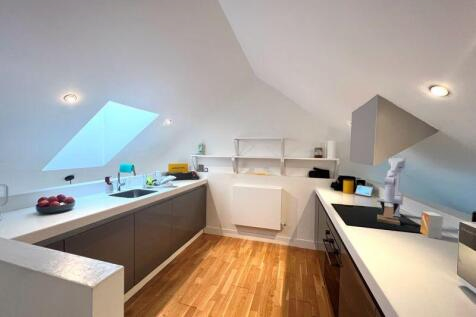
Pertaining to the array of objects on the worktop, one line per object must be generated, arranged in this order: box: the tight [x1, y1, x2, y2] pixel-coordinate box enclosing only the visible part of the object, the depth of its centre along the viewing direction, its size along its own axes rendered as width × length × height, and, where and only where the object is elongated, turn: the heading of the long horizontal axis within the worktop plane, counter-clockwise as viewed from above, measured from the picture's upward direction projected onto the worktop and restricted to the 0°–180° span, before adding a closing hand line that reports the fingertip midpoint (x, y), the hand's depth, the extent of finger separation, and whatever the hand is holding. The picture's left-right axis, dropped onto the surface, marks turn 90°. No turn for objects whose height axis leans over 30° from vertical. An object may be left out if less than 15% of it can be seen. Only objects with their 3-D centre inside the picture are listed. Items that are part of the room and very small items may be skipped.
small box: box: [420, 210, 444, 240], centre depth 119 cm, size 8×6×13 cm
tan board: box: [376, 214, 401, 226], centre depth 143 cm, size 12×12×2 cm
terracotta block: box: [383, 205, 394, 217], centre depth 143 cm, size 5×5×6 cm
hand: (388, 213), depth 143 cm, fingers closed on terracotta block, 5 cm apart
